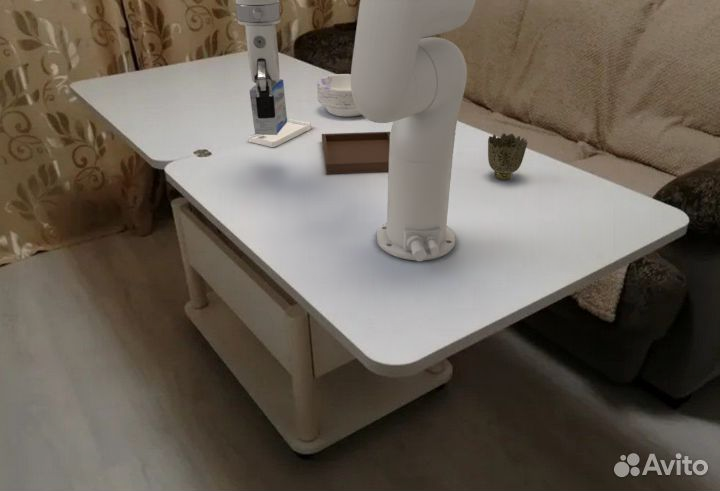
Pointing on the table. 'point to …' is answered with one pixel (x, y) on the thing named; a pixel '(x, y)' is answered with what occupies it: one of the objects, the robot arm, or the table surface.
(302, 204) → the table surface
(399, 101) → the robot arm
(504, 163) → the cup
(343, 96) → the paper bowls
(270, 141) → the phone case
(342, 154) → the tray
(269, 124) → the medicine box
